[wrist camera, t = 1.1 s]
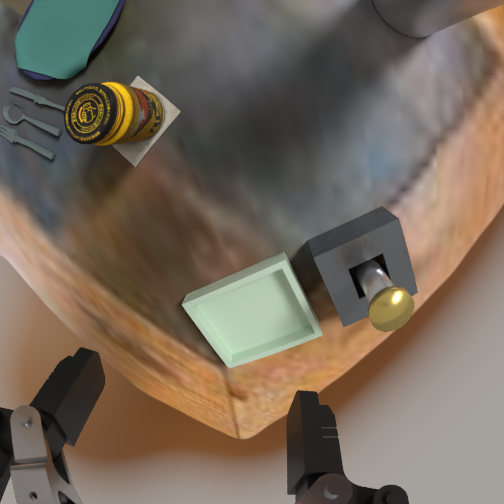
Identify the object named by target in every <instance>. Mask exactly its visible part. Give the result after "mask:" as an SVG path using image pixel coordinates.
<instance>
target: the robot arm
mask: <svg viewBox="0 0 504 504" xmlns="http://www.w3.org/2000/svg"><path fill="white" fill-rule="evenodd" d="M373 3H374V6H375V8H376V10H377V12H378V13H379V14H380V16H381V17H382V18H383V19H384V20H385V21H386V22H387V23H388V24H389V25H390V26H391V27H393V28H394V29H395V30H397V31H399V32H400V33H402V34H405V35H407V36H410V37H415V38H423V37H427V36H429V35H432V34H434V33H436V32H438V31H440V30H442V29H445V28H447V27H449V26H451V25H454V24H456V23H458V22H460V21H463V20H465V19H467V18H470V17H472V16H475V15H477V14H480V13H482V12H485V11H488V10H490V9H493V8H496V7H498V6H501V5H503V4H504V0H373ZM104 385H105V375H104V371H103V368H102V364H101V360H100V356H99V353H98V352H96V351H92V350H89V349H86V348H83V347H81V348H79V349H78V351H77V352H76V354H75V355H74V356H73V357H71V356H68V357H66V358H65V359H63V360H62V361H60V363H59V364H58V365H57V366H56V368H55V369H54V372H52V373H51V375H50V376H49V379H47V380H46V382H45V383H44V385H43V386H42V388H41V389H40V391H39V392H38V393H37V395H36V396H35V398H34V400H33V401H32V402H31V404H30V405H29V406H28V405H23V406H20V407H18V408H16V409H15V410H10V409H5V408H1V407H0V502H1V499H2V496H3V494H4V491H5V489H6V486H7V484H8V481H9V479H10V476H11V478H12V483H13V488H14V492H15V497H16V501H17V504H83V503H82V500H81V498H80V497H79V495H78V493H77V492H76V490H75V488H74V485H73V482H72V479H71V476H70V473H69V469H68V466H67V462H66V459H65V455H64V452H63V449H62V448H63V446H64V444H65V443H67V444H69V445H71V446H74V445H75V443H76V441H77V439H78V437H79V435H80V433H81V431H82V429H83V427H84V425H85V423H86V421H87V419H88V417H89V415H90V413H91V411H92V409H93V408H94V406H95V404H96V401H97V400H98V398H99V396H100V394H101V392H102V391H103V388H104ZM286 426H287V427H286V428H287V487H288V488H287V493H288V494H290V495H291V494H292V495H293V494H294V495H296V503H295V504H409V501H408V496H407V494H406V492H405V491H404V490H403V489H402V488H401V487H399V486H396V485H386V486H383V487H382V488H380V489H379V490H378V489H372V488H367V487H361V486H358V485H355V484H353V483H352V482H350V481H349V480H348V479H347V477H346V476H345V474H344V471H343V466H342V459H341V452H340V445H339V439H338V432H337V429H336V421H335V415H334V414H333V412H332V411H331V409H330V408H329V406H328V405H319V400H318V394H317V392H315V391H299V390H298V391H297V392H296V394H295V397H294V399H293V402H292V404H291V407H290V409H289V412H288V416H287V425H286Z"/></svg>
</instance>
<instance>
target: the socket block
mask: <svg viewBox="0 0 504 504" xmlns="http://www.w3.org/2000/svg"><path fill="white" fill-rule="evenodd" d="M308 244H309V247H310V250H311V253H312V256H313V258H314V261H315V263H316V265H317V267H318V269H319V272H320V274H321V276H322V278H323V281H324V283H325V285H326V287H327V290H328V292H329V294H330V296H331V299H332V301H333V303H334V306H335V308H336V310H337V313H338V315H339V318H340V320H341V322H342V325H343V327H345V326H348V325H350V324H352V323H355V322H357V321H359V320H361V319H364V318H366V317H368V306H369V303H370V302H369V301H368V299H367V297H366V295H365V293H364V291H363V289H362V287H361V286H360V284H359V282H358V280H357V278H356V277H355V276H354V277H352V278H351V276H350V273H349V270H348V269H350V268H352V267H354V266H356V265H359V264H361V263H363V262H365V261H367V260H369V259H371V258H374V257H376V260H377V263H378V264H379V266H380V267H381V268H382V270H383V271H384V272H385V274H386V275H387V276H388V278H389V279H390V280H391V282H392V283H393V285H394V286H401V287H403V288H405V289H406V290H407V292H408V293H409V294H410V296H412V295H414V294H416V293H418V292H417V287H416V282H415V278H414V274H413V269H412V265H411V261H410V257H409V253H408V249H407V246H406V242H405V238H404V235H403V231H402V228H401V225H400V221H399V218H397V217H396V216H395V215H393V214H392V213H391V212H389V211H388V210H386V209H385V208H384V207H380V208H378V209H375V210H373V211H371V212H369V213H367V214H365V215H362V216H360V217H358V218H356V219H354V220H352V221H349V222H347V223H345V224H343V225H341V226H338V227H336V228H334V229H332V230H330V231H328V232H325V233H323V234H321V235H319V236H317V237H314V238H312V239H310V240H308Z"/></svg>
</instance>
